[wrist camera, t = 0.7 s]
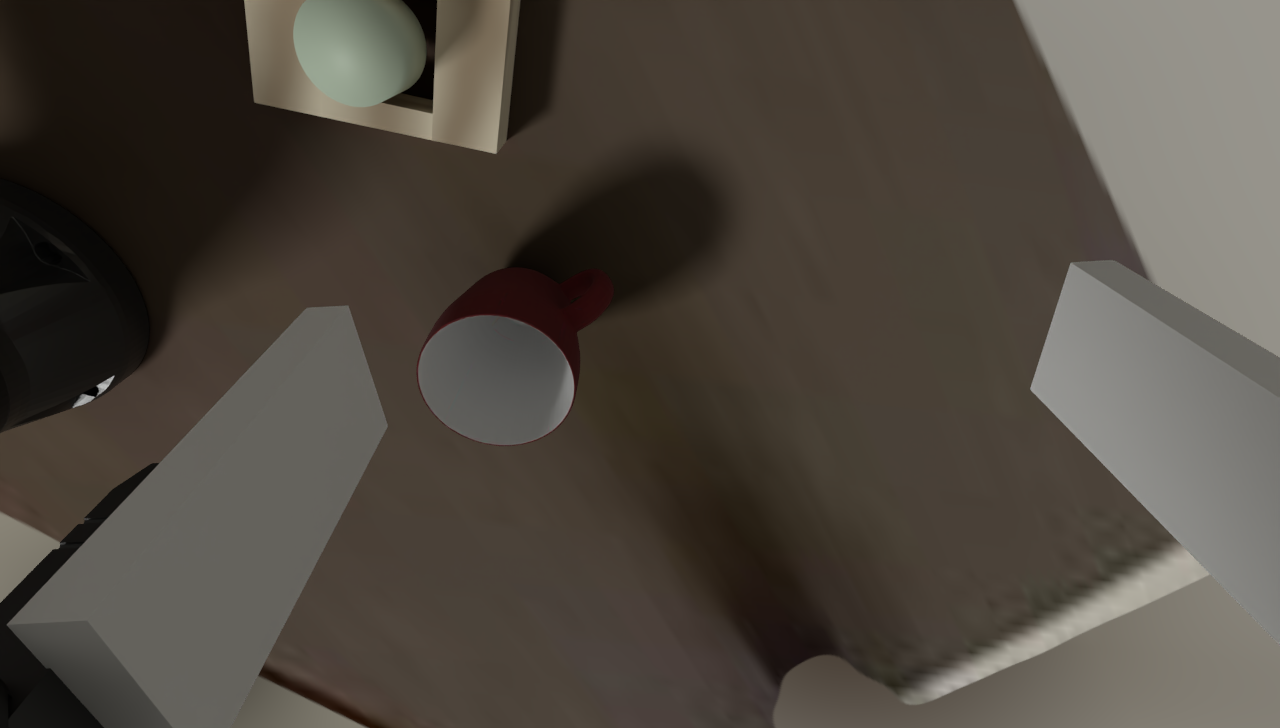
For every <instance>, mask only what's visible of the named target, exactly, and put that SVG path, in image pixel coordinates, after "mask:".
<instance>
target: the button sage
mask: <svg viewBox="0 0 1280 728" xmlns="http://www.w3.org/2000/svg"><path fill="white" fill-rule="evenodd" d="M293 39H294V46H295V50H296V54H297V57H298V60H299V62H300V64H301V66H302V68H303V70H304V72H305V73H306V75H307V76H308V78H309V79H310V80H311V81H312V83H313V84H314V85H315V86H316V87H317V88H318V89H319V90H320V91H322V92H323V93H324V94H325V95H327V96H328V97H330V98H332V99H333V100H335V101H337V102H339V103H342V104H345V105H348V106H353V107H369V106H373V105H377V104H379V103H381V102H383V101H385V100H387V99H389V98H391V97H393V96H395V95H397V94H399V93H401V92H403V91H405V90H407V89H409V88H410V87H411V86H413V85H414V84H415V83H416V82H417V80H418V79H419V78H420V76H421V74H422V72H423V69H424V67H425V63H426V55H427V49H426V40H425V36H424V33H423V30H422V27H421V25H420V23H419V21H418V19H417V18H416V16H415V15H414V13H413V12H412V10H411V9H410V8H409V7H408V6H407V5H406V4H405V3H404V2H403V1H402V0H306V1H305V2H304V3H303V4H302V5H301V7H300V9H299V10H298V13H297V15H296V18H295V22H294V29H293Z"/></svg>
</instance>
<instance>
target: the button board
mask: <svg viewBox="0 0 1280 728" xmlns="http://www.w3.org/2000/svg"><path fill="white" fill-rule="evenodd" d="M305 1H306V0H244V3H245V14H246V24H247V34H248V44H249V55H250V65H251V75H252V85H253V96H254V103H259V104H263V105H268V106H273V107H278V108H282V109H287V110H292V111H296V112H301V113H306V114H311V115H315V116H320V117H325V118H329V119H334V120H339V121H344V122H348V123H353V124H358V125H363V126H367V127H372V128H377V129H381V130H386V131H391V132H396V133H400V134H405V135H410V136H415V137H419V138H424V139H429V140H433V141H438V142H443V143H448V144H452V145H457V146H462V147H467V148H471V149H476V150H481V151H485V152H490V153H495V154H497V152H498V151H499V150H500V149H501V147H502V146H503V145H504V143H505V142H506V141H507V131H508V121H509V111H510V101H511V91H512V81H513V71H514V61H515V50H516V40H517V30H518V20H519V10H520V0H437V21H436V46H435V71H434V96H433V100H430V99H425V98H421V97H416V96H411V95H407V94H402V93H399V94H397V95H395V96H393V97H391V98H389V99H387V100H385V101H383V102H381V103H379V104H377V105H373V106H369V107H353V106H348V105H345V104H342V103H339V102H337V101H335V100H333V99H332V98H330V97H328V96H327V95H325V94H324V93H323V92H322V91H320V90H319V89H318V88H317V87H316V86H315V85H314V84H313V83H312V81H311V80H310V79H309V78H308V76H307V75H306V73H305V72H304V70H303V68H302V66H301V64H300V62H299V60H298V57H297V54H296V50H295V46H294V39H293V29H294V22H295V18H296V15H297V13H298V10H299V9H300V7H301V5H302V4H303V3H304V2H305Z"/></svg>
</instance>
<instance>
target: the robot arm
mask: <svg viewBox="0 0 1280 728" xmlns="http://www.w3.org/2000/svg"><path fill="white" fill-rule="evenodd" d="M148 341H149V321H148V315H147V311H146V307H145V304H144V301H143V298H142V296H141V294H140V291H139V289H138V287H137V285H136V283H135V281H134V280H133V278H132V276H131V275H130V273H129V272H128V270H127V269H126V267H125V266H124V264H123V263H122V262H121V260H120V259H119V258H118V256H117V255H116V254H115V253H114V252H113V251H112V249H111V248H110V247H109V246H108V245H107V244H106V243H105V242H104V241H103V240H102V239H101V238H100V237H99V236H98V235H97V234H96V233H95V232H94V231H92V230H91V229H90V228H89V227H88V226H87V225H86V224H84V223H83V222H82V221H80V220H79V219H78V218H77V217H75V216H74V215H72V214H71V213H70V212H68V211H67V210H65V209H64V208H62V207H61V206H59V205H58V204H56V203H54V202H52V201H51V200H49V199H47V198H45V197H44V196H42V195H40V194H38V193H36V192H34V191H32V190H29V189H27V188H25V187H22V186H20V185H18V184H15V183H12V182H9V181H6V180H4V179H0V433H1V432H4V431H7V430H10V429H12V428H15V427H18V426H21V425H24V424H27V423H30V422H33V421H36V420H39V419H42V418H45V417H48V416H51V415H54V414H57V413H60V412H63V411H66V410H68V409H71V408H74V407H78V406H81V405H83V404H86V403H89V402H91V401H93V400H95V399H97V398H99V397H101V396H103V395H104V394H106V393H107V392H109V391H110V390H111V389H113V388H114V387H115V386H116V385H118V384H119V383H120V382H122V381H123V380H124V379H125V378H127V377H128V376H129V375H130V374H131V373H132V372H134V371H135V369H136V368H137V367H138V366H139V364H140V363H141V361H142V359H143V357H144V355H145V353H146V350H147V346H148ZM1030 390H1031V391H1032V392H1033V393H1034V394H1035V395H1036V396H1037V397H1038V398H1039V399H1040V400H1041V401H1042V402H1043V403H1044V404H1045V405H1046V406H1047V407H1048V408H1049V409H1050V410H1051V411H1052V412H1053V413H1054V414H1055V415H1056V416H1057V417H1058V418H1059V419H1060V420H1061V421H1062V422H1063V424H1064V425H1065V426H1066V427H1067V428H1068V429H1069V430H1070V431H1071V432H1072V433H1073V434H1074V435H1075V436H1076V437H1077V438H1078V439H1079V440H1080V441H1081V442H1082V443H1083V444H1084V445H1085V446H1086V447H1087V448H1088V449H1089V450H1090V451H1091V452H1092V453H1093V454H1094V455H1095V456H1096V457H1097V458H1098V459H1099V460H1100V462H1101V463H1102V464H1103V465H1104V466H1105V467H1106V468H1107V469H1108V470H1109V471H1110V472H1111V473H1112V474H1113V475H1114V476H1115V477H1116V478H1117V479H1118V480H1119V481H1120V482H1121V483H1122V484H1123V485H1124V486H1125V487H1126V488H1127V489H1128V490H1129V491H1130V492H1131V493H1132V494H1133V495H1134V496H1135V497H1136V498H1137V499H1138V501H1139V502H1140V503H1141V504H1142V505H1143V506H1144V507H1145V508H1146V509H1147V510H1148V511H1149V512H1150V513H1151V514H1152V515H1153V516H1154V517H1155V518H1156V519H1157V520H1158V521H1159V522H1160V523H1161V524H1162V525H1163V526H1164V527H1165V528H1166V529H1167V530H1168V531H1169V532H1170V533H1171V534H1172V535H1173V536H1174V537H1175V539H1176V540H1177V541H1178V542H1179V543H1180V544H1181V545H1182V546H1183V547H1184V548H1185V549H1186V550H1187V551H1188V552H1189V553H1190V554H1191V555H1192V556H1193V557H1194V558H1195V559H1196V560H1197V561H1198V562H1199V563H1200V564H1201V565H1202V566H1203V567H1204V568H1205V569H1206V570H1207V571H1208V572H1209V573H1210V574H1211V575H1212V576H1213V577H1214V578H1215V580H1216V581H1217V582H1218V583H1219V584H1220V585H1221V586H1222V587H1223V588H1224V589H1225V590H1226V591H1227V592H1228V593H1229V594H1230V595H1231V596H1232V597H1233V598H1234V599H1235V600H1236V601H1237V602H1238V603H1239V604H1240V605H1241V606H1242V607H1243V608H1244V609H1245V610H1246V611H1247V612H1248V613H1249V614H1250V616H1251V617H1253V619H1254V620H1255V621H1256V622H1257V623H1258V624H1259V625H1260V626H1261V627H1262V628H1263V629H1264V630H1265V631H1266V632H1267V633H1268V634H1269V635H1270V636H1271V637H1272V638H1273V639H1274V640H1275V641H1276V642H1277V643H1278V644H1279V645H1280V358H1279V357H1278V356H1276V355H1274V354H1273V353H1271V352H1269V351H1268V350H1266V349H1264V348H1262V347H1261V346H1259V345H1257V344H1255V343H1254V342H1252V341H1250V340H1249V339H1247V338H1245V337H1243V336H1242V335H1240V334H1239V333H1237V332H1235V331H1233V330H1232V329H1230V328H1228V327H1226V326H1225V325H1223V324H1221V323H1220V322H1218V321H1216V320H1215V319H1213V318H1211V317H1210V316H1208V315H1206V314H1204V313H1203V312H1201V311H1199V310H1198V309H1196V308H1194V307H1192V306H1191V305H1189V304H1187V303H1186V302H1184V301H1182V300H1181V299H1179V298H1177V297H1175V296H1174V295H1172V294H1170V293H1169V292H1167V291H1165V290H1164V289H1162V288H1160V287H1159V286H1157V285H1155V284H1153V283H1152V282H1150V281H1148V280H1147V279H1145V278H1143V277H1142V276H1140V275H1138V274H1136V273H1135V272H1133V271H1131V270H1130V269H1128V268H1126V267H1125V266H1123V265H1121V264H1119V263H1118V262H1116V261H1114V260H1106V261H1089V262H1072V263H1070V267H1069V270H1068V273H1067V276H1066V279H1065V282H1064V285H1063V288H1062V292H1061V295H1060V298H1059V301H1058V304H1057V307H1056V310H1055V313H1054V317H1053V320H1052V323H1051V326H1050V329H1049V332H1048V335H1047V338H1046V341H1045V345H1044V348H1043V351H1042V354H1041V357H1040V360H1039V363H1038V366H1037V370H1036V373H1035V376H1034V379H1033V382H1032V385H1031V388H1030ZM387 427H388V425H387V422H386V419H385V416H384V413H383V410H382V407H381V404H380V401H379V398H378V395H377V392H376V389H375V385H374V382H373V379H372V376H371V373H370V370H369V367H368V364H367V361H366V358H365V355H364V352H363V349H362V346H361V343H360V340H359V337H358V334H357V331H356V328H355V325H354V322H353V319H352V316H351V313H350V309H349V306H332V307H316V308H306V309H305V310H304V311H303V312H302V313H301V314H300V316H299V317H298V318H297V319H296V320H295V321H294V322H293V323H292V324H291V325H290V326H289V327H288V328H287V329H286V330H285V331H284V332H283V333H282V335H281V336H280V337H279V338H278V339H277V340H276V341H275V342H274V343H273V344H272V345H271V346H270V347H269V348H268V349H267V350H266V351H265V352H264V354H263V355H262V356H261V357H260V358H259V359H258V360H257V361H256V362H255V363H254V364H253V365H252V366H251V367H250V368H249V369H248V370H247V371H246V373H245V374H244V375H243V376H242V377H241V378H240V379H239V380H238V381H237V382H236V383H235V384H234V385H233V386H232V387H231V388H230V389H229V390H228V392H227V393H226V394H225V395H224V396H223V397H222V398H221V399H220V400H219V401H218V402H217V403H216V404H215V405H214V406H213V407H212V408H211V410H210V411H209V412H208V413H207V414H206V415H205V416H204V417H203V418H202V419H201V420H200V421H199V422H198V423H197V424H196V425H195V426H194V427H193V429H192V430H191V431H190V432H189V433H188V434H187V435H186V436H185V437H184V438H183V439H182V440H181V441H180V442H179V443H178V444H177V445H176V446H175V448H174V449H173V450H172V451H171V452H170V453H169V454H168V455H167V456H166V457H165V458H164V459H163V460H162V461H161V462H160V463H153V464H150V465H149V466H147V467H146V468H144V469H143V470H141V471H140V472H138V473H137V474H135V475H134V476H132V477H131V478H129V479H128V480H126V481H125V482H123V483H121V484H120V485H118V486H117V487H115V488H114V489H113V490H112V491H111V492H110V493H109V494H108V495H107V496H106V497H105V498H104V499H103V500H102V501H101V502H100V503H99V504H98V505H97V506H96V507H95V508H94V509H93V510H92V511H91V512H90V513H89V514H88V515H87V516H86V517H85V518H84V520H85V521H84V524H78V525H77V526H76V527H75V528H74V529H73V530H72V531H71V532H70V533H69V534H68V535H67V536H66V537H65V538H64V539H63V540H62V541H61V542H60V548H59V549H54V550H52V551H51V552H50V553H49V554H48V555H47V556H46V557H45V558H44V559H43V560H42V561H41V562H40V563H39V565H37V566H36V567H35V568H34V570H33V571H31V573H29V574H28V575H27V576H26V578H25V579H24V580H23V581H22V582H21V583H20V584H19V585H18V586H17V587H16V588H15V589H14V590H13V591H12V592H11V593H10V594H9V595H8V596H7V597H6V598H5V599H4V600H3V601H2V602H1V603H0V728H231V726H232V724H233V722H234V720H235V718H236V716H237V714H238V712H239V711H240V708H241V707H242V705H243V703H244V701H245V699H246V697H247V695H248V693H249V691H250V690H251V688H252V686H253V684H254V682H255V680H256V678H257V676H258V674H259V672H260V670H261V669H262V667H263V665H264V663H265V661H266V659H267V657H268V655H269V653H270V651H271V649H272V647H273V645H274V644H275V642H276V640H277V638H278V636H279V634H280V632H281V630H282V628H283V626H284V624H285V622H286V621H287V619H288V617H289V615H290V613H291V611H292V609H293V607H294V605H295V603H296V601H297V599H298V598H299V596H300V594H301V592H302V590H303V588H304V586H305V584H306V582H307V580H308V578H309V576H310V575H311V573H312V571H313V569H314V567H315V565H316V563H317V561H318V559H319V557H320V555H321V553H322V551H323V550H324V548H325V546H326V544H327V542H328V540H329V538H330V536H331V534H332V532H333V530H334V528H335V527H336V525H337V523H338V521H339V519H340V517H341V515H342V513H343V511H344V509H345V507H346V505H347V504H348V502H349V500H350V498H351V496H352V494H353V492H354V490H355V488H356V486H357V484H358V482H359V481H360V479H361V477H362V475H363V473H364V471H365V469H366V467H367V465H368V463H369V461H370V459H371V458H372V456H373V454H374V452H375V450H376V448H377V446H378V444H379V442H380V440H381V438H382V436H383V434H384V433H385V431H386V429H387Z"/></svg>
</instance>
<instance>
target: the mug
mask: <svg viewBox="0 0 1280 728" xmlns="http://www.w3.org/2000/svg"><path fill="white" fill-rule="evenodd" d="M613 295H614V287H613V284H612V281H611V279H610V278H609V277H608V275H607V274H606V273H605V272H603V271H602V270H599V269H588V270H585V271H582V272H580V273H578V274H576V275H574V276H573V277H571V278H569V279H567V280H566V281H564V282H562V283H561V284H558V283H556V282H555V281H553V280H552V279H551V278H549V277H547V276H546V275H544V274H542V273H540V272H538V271H535V270H531V269H527V268H520V267H512V268H505V269H500V270H497V271H494V272H492V273H490V274H488V275H486V276H484V277H483V278H481V279H480V280H479V281H478V282H476V283H475V284H474V285H473V286H472V287H471V288H469V289H468V290H467V291H466V292H465V293H464V294H462V295H461V296H460V297H459V298H458V299H457V300H455V301H454V302H453V303H452V304H451V305H450V306H449V307H448V308H447V309H446V310H445V311H444V312H443V313H442V315H441V316H440V318H439V319H438V320H437V322H436V323H435V325H434V327H433V328H432V330H431V332H430V334H429V335H428V337H427V339H426V341H425V343H424V345H423V347H422V349H421V352H420V355H419V358H418V362H417V382H418V387H419V390H420V393H421V395H422V397H423V400H424V401H425V403H426V405H427V406H428V408H429V409H430V411H431V412H432V413H433V414H434V415H435V417H436V418H437V419H439V420H440V421H441V422H442V423H443V424H444V425H445V426H447V427H448V428H449V429H451V430H452V431H454V432H456V433H458V434H459V435H461V436H463V437H465V438H468V439H470V440H473V441H476V442H480V443H484V444H489V445H496V446H514V445H521V444H526V443H530V442H533V441H536V440H538V439H541V438H543V437H545V436H546V435H548V434H550V433H551V432H553V431H554V430H555V429H556V428H557V427H559V426H560V425H561V424H562V422H563V421H564V420H565V419H566V417H567V416H568V414H569V412H570V410H571V408H572V406H573V403H574V400H575V395H576V391H577V385H578V379H579V373H580V350H579V343H578V337H577V332H578V331H579V330H581V329H583V328H584V327H586V326H588V325H589V324H591V323H592V322H593V321H595V320H596V319H597V318H598V317H599V316H600V315H601V314H602V313H603V312H604V311H605V310H606V308H607V307H608V306H609V304H610V302H611V300H612V298H613ZM579 296H581V297H580V298H579V299H577V300H576V301H575V302H573V303H572V304H571V300H573V299H574V298H577V297H579Z"/></svg>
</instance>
